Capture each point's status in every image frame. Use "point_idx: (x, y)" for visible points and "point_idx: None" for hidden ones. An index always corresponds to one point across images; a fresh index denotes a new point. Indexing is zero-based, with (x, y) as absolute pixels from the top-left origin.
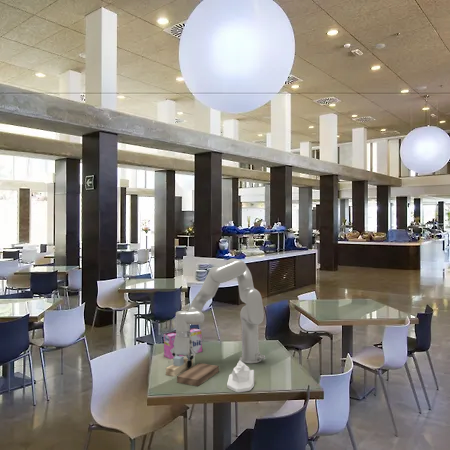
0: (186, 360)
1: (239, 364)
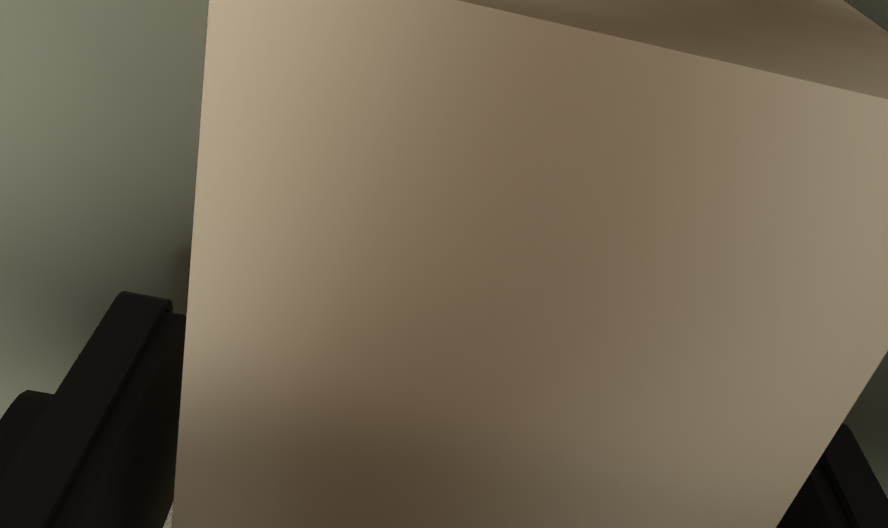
0: (557, 393)
1: None
